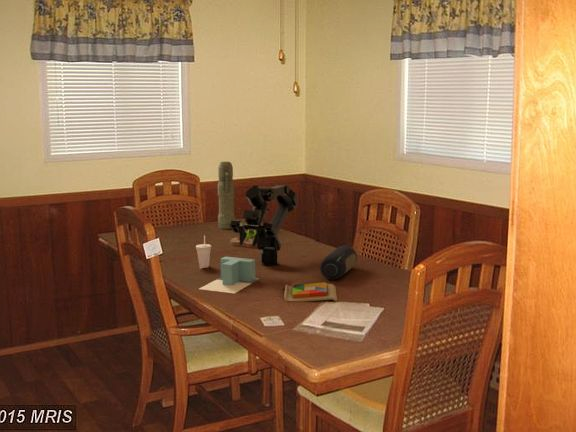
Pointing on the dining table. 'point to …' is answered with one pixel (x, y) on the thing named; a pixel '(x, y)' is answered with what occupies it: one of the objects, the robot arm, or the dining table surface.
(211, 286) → the mat
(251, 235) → the plant
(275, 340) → the dining table surface
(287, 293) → the wooden puzzle
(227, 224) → the thermos
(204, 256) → the smoothie
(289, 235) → the dining table surface
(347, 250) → the portable speaker
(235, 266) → the t block
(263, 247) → the robot arm
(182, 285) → the dining table surface
